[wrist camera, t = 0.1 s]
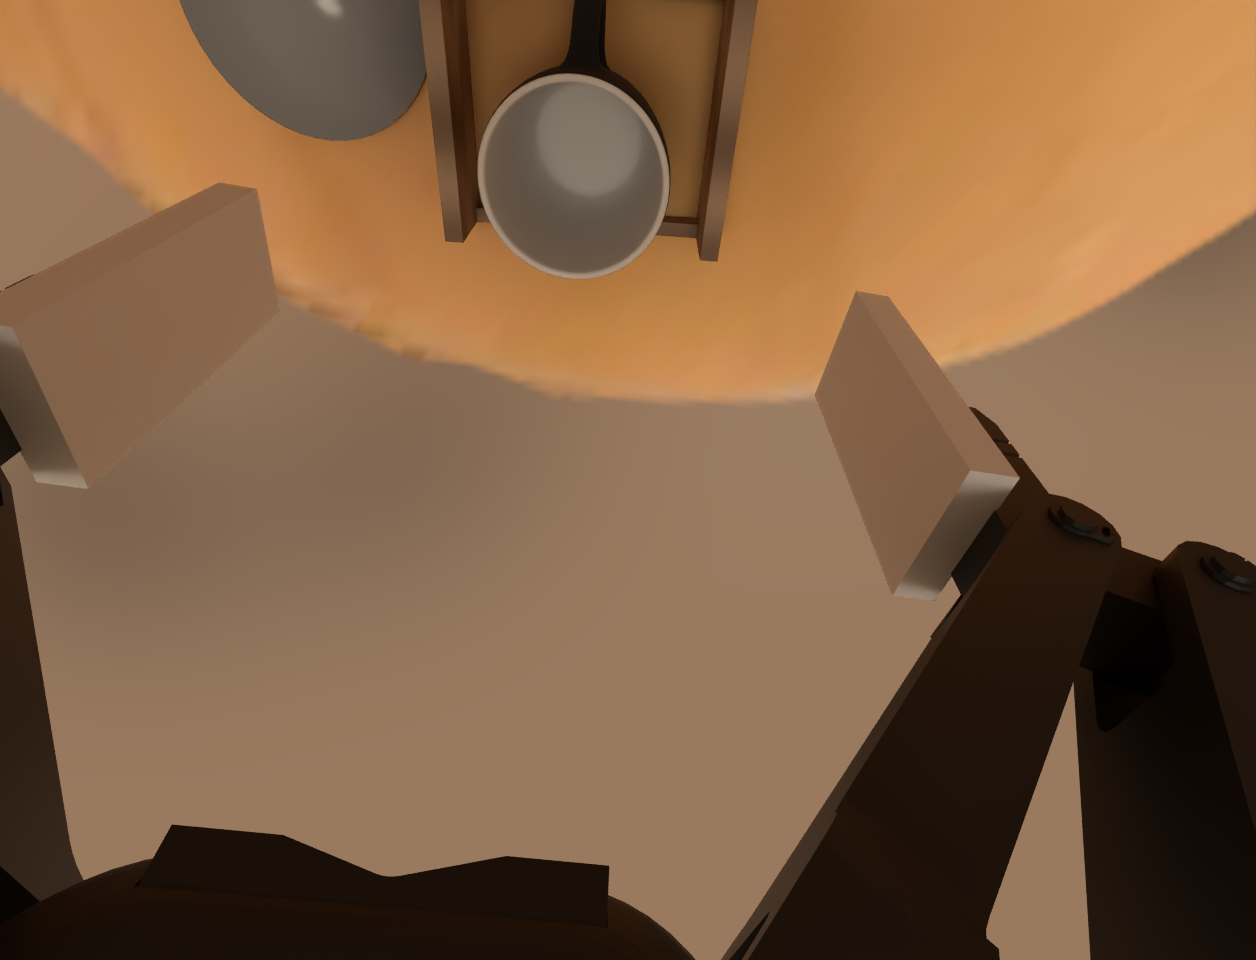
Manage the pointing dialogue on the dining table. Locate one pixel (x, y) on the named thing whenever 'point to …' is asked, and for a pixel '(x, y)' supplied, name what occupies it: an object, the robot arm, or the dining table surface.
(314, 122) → the coaster
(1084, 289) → the dining table surface
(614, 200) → the mug
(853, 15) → the dining table surface
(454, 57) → the frame
